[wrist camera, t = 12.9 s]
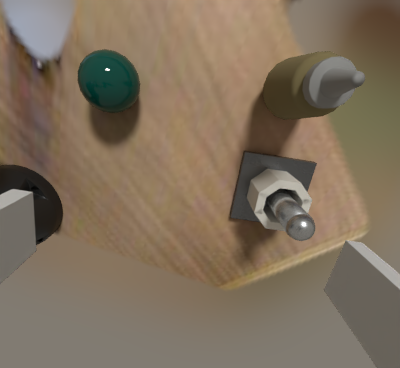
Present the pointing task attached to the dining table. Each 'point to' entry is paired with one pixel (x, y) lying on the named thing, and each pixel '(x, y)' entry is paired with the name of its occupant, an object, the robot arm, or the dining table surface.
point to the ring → (266, 186)
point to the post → (275, 193)
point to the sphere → (108, 81)
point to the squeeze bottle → (310, 85)
